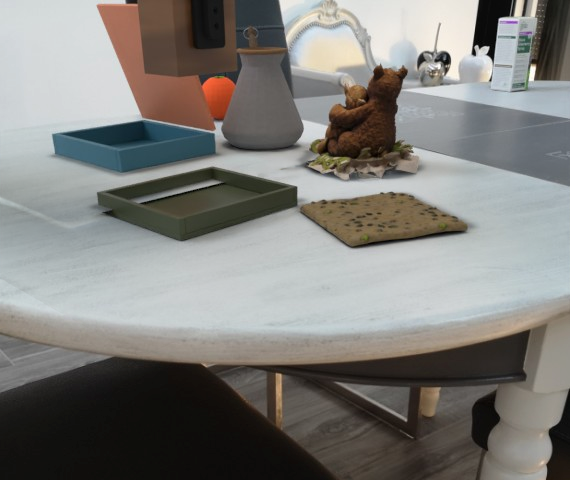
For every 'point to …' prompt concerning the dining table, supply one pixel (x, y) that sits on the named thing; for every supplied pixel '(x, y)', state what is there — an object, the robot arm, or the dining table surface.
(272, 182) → the tray
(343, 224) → the cookie
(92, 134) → the tray
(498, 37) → the syrup box
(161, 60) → the block
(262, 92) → the grey lidded jar
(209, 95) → the clementine
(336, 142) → the bear figurine
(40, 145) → the dining table surface
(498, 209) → the dining table surface
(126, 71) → the lunchbox lid
